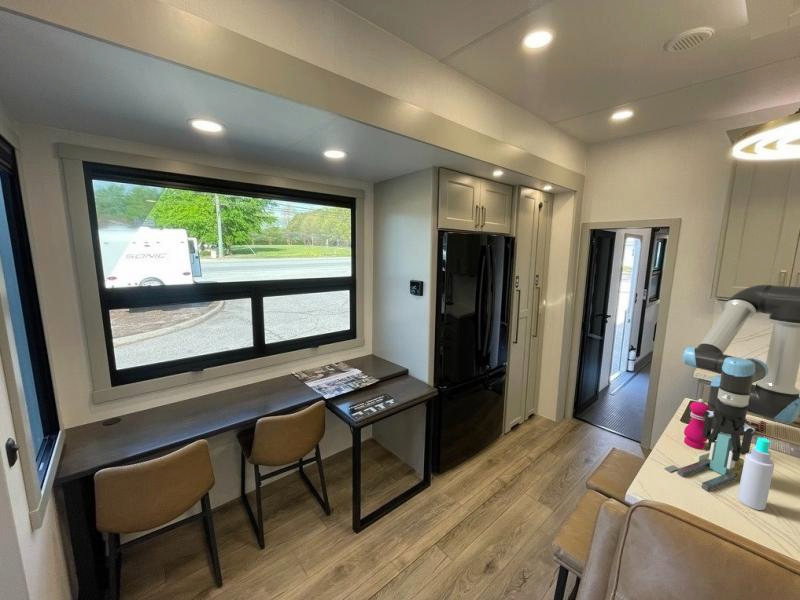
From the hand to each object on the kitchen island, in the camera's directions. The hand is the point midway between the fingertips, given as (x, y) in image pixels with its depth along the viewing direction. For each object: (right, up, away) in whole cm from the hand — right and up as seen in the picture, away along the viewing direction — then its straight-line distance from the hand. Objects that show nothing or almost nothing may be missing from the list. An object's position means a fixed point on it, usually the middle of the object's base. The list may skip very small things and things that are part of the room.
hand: (721, 462), depth 116 cm
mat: (-16, -3, +2) cm, 16 cm away
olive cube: (+7, -3, +3) cm, 8 cm away
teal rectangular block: (0, -3, +1) cm, 3 cm away
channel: (-7, -4, -2) cm, 8 cm away
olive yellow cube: (+3, -4, +2) cm, 5 cm away
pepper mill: (+5, -1, +17) cm, 17 cm away
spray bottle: (-4, -6, -14) cm, 15 cm away
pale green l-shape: (+6, -3, +3) cm, 7 cm away
